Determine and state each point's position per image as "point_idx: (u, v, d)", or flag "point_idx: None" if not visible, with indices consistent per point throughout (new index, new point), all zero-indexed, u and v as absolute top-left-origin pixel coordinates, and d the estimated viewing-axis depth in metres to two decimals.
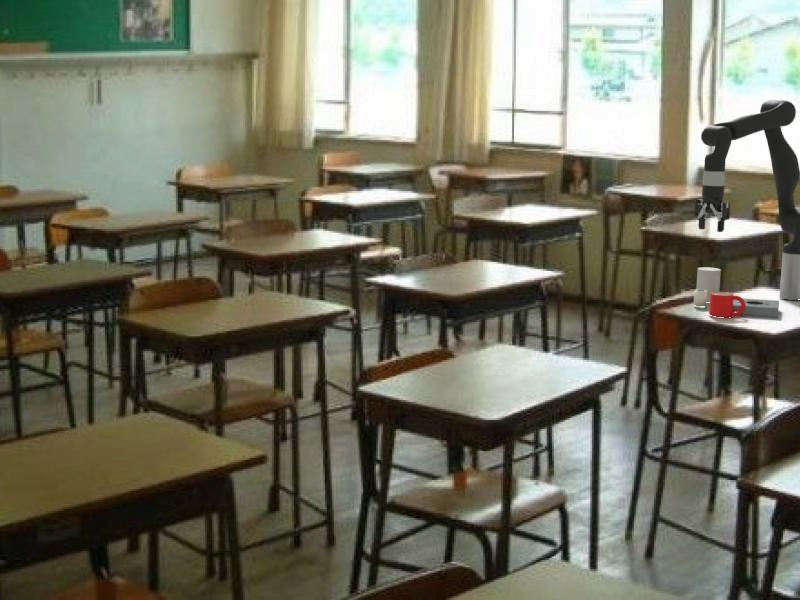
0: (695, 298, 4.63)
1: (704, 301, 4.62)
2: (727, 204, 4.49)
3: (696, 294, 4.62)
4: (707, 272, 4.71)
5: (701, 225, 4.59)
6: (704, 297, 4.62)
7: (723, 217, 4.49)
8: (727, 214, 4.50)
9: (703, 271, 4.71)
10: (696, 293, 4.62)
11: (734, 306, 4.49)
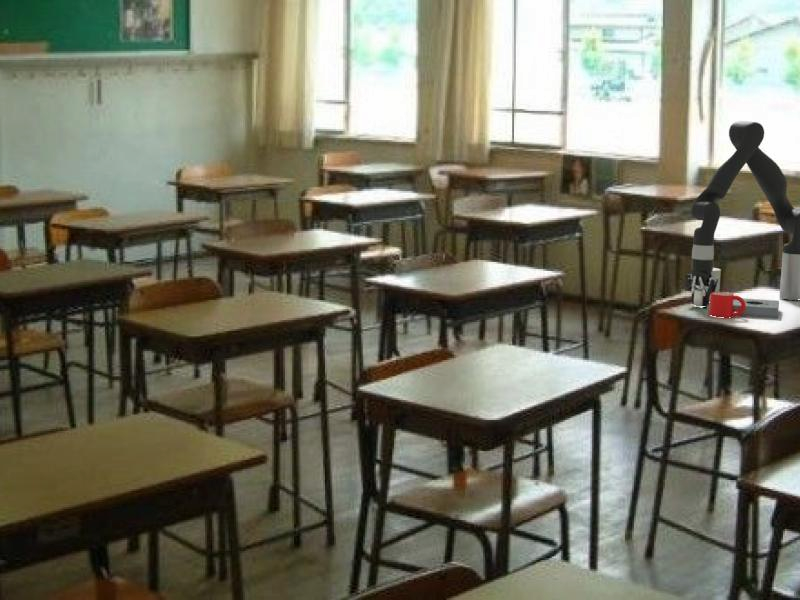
0: (695, 298, 4.63)
1: None
2: (715, 281, 4.57)
3: (696, 294, 4.62)
4: None
5: None
6: None
7: (708, 292, 4.59)
8: (713, 289, 4.60)
9: None
10: (696, 293, 4.62)
11: (734, 306, 4.49)
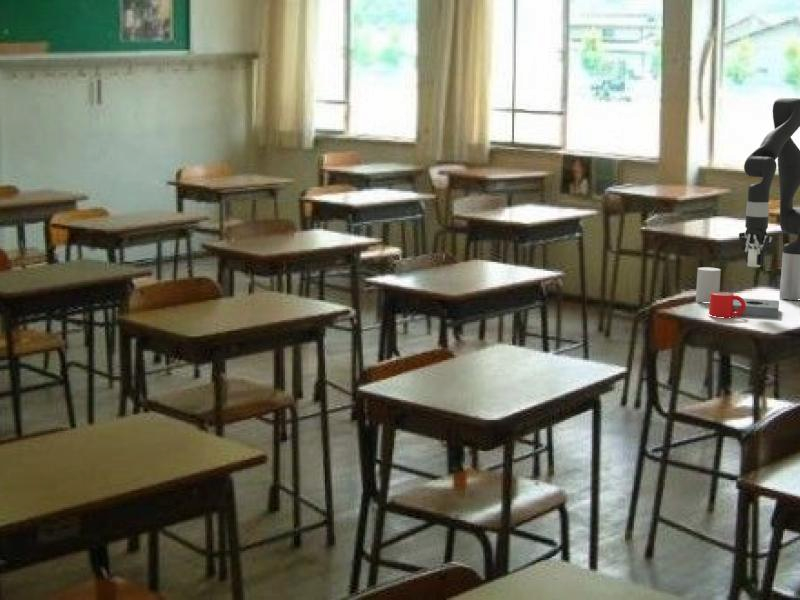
0: (749, 257, 4.52)
1: None
2: (770, 239, 4.46)
3: (750, 252, 4.51)
4: (707, 272, 4.71)
5: None
6: None
7: (763, 250, 4.48)
8: (768, 247, 4.48)
9: (703, 271, 4.71)
10: (750, 251, 4.51)
11: (734, 306, 4.49)
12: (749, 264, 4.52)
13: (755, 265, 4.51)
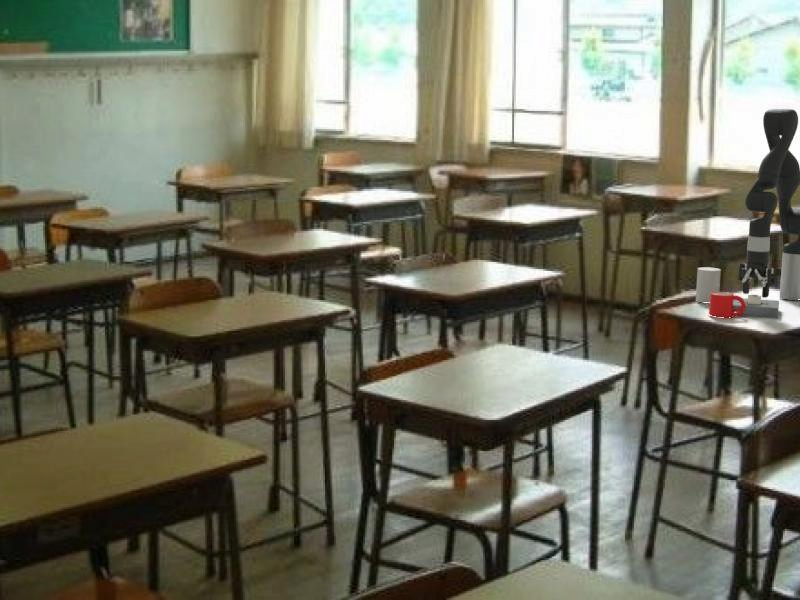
0: (749, 303, 4.54)
1: None
2: (772, 270, 4.47)
3: (750, 299, 4.54)
4: (707, 272, 4.71)
5: (745, 290, 4.57)
6: (758, 302, 4.53)
7: (768, 283, 4.47)
8: (772, 280, 4.48)
9: (703, 271, 4.71)
10: (750, 298, 4.53)
11: (734, 306, 4.49)
12: None
13: None
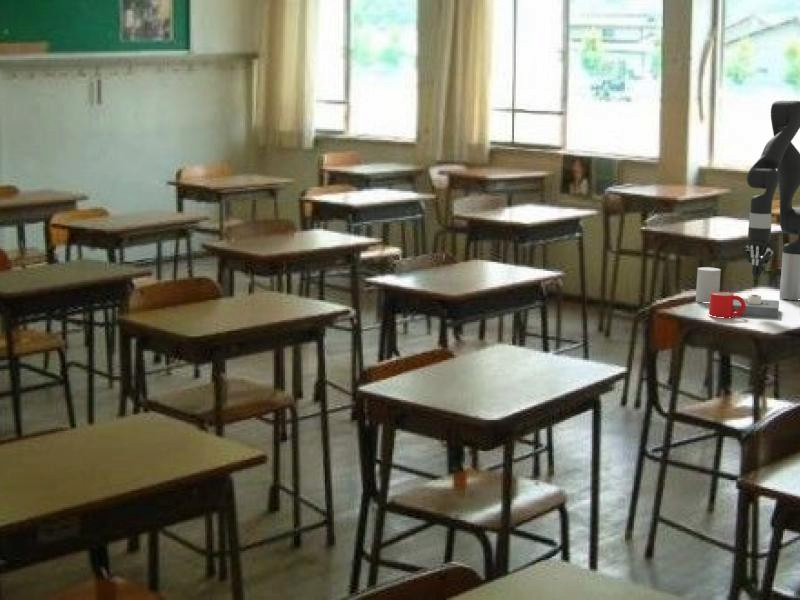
0: (749, 303, 4.54)
1: None
2: (771, 254, 4.47)
3: (750, 299, 4.54)
4: (707, 272, 4.71)
5: None
6: (758, 302, 4.53)
7: (761, 262, 4.49)
8: (766, 260, 4.50)
9: (703, 271, 4.71)
10: (750, 298, 4.53)
11: (734, 306, 4.49)
12: None
13: None
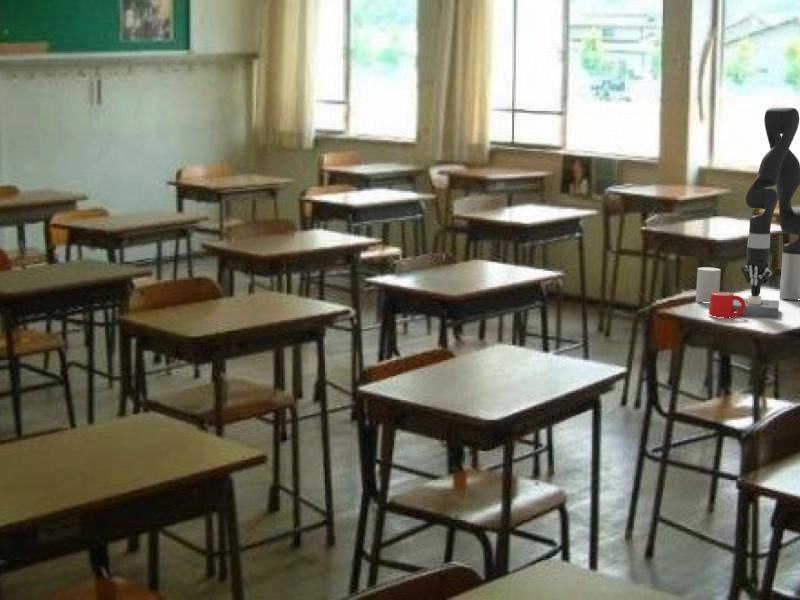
0: None
1: None
2: (770, 274, 4.48)
3: (750, 300, 4.54)
4: (707, 272, 4.71)
5: None
6: (758, 303, 4.53)
7: (759, 282, 4.51)
8: None
9: (703, 271, 4.71)
10: (750, 299, 4.53)
11: (734, 306, 4.49)
12: None
13: None
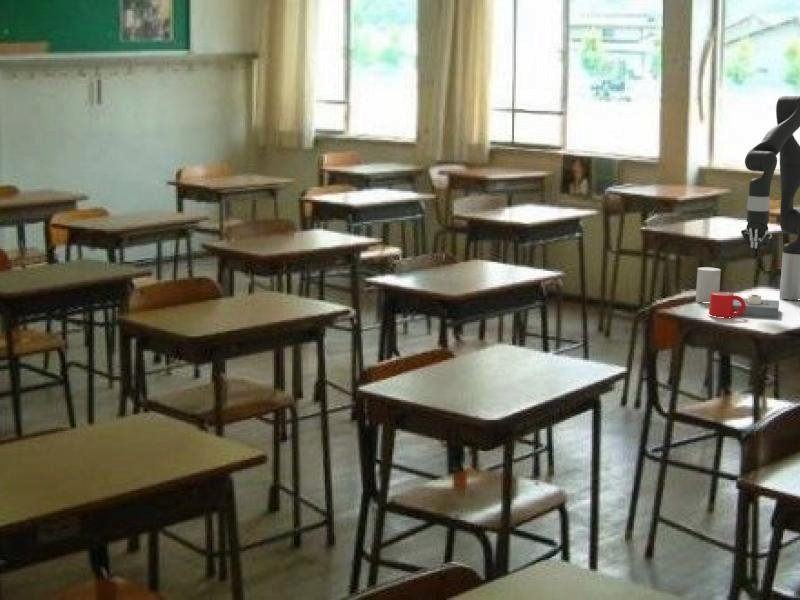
0: (749, 303, 4.54)
1: None
2: (770, 236, 4.49)
3: (750, 299, 4.54)
4: (707, 272, 4.71)
5: None
6: (758, 302, 4.53)
7: (760, 244, 4.52)
8: None
9: (703, 271, 4.71)
10: (750, 298, 4.53)
11: (734, 306, 4.49)
12: None
13: None
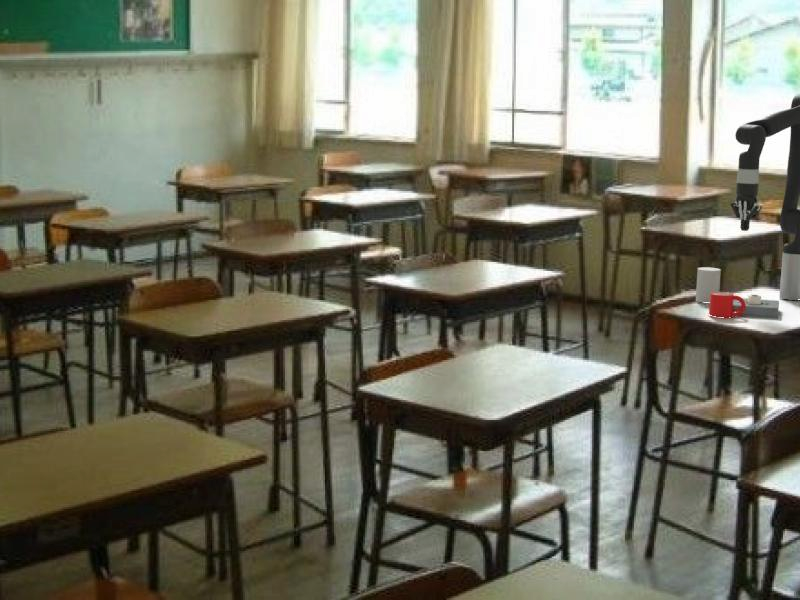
0: (749, 303, 4.54)
1: None
2: (759, 208, 4.59)
3: (750, 299, 4.54)
4: (707, 272, 4.71)
5: None
6: (758, 302, 4.53)
7: (748, 216, 4.62)
8: (754, 214, 4.62)
9: (703, 271, 4.71)
10: (750, 298, 4.53)
11: (734, 306, 4.49)
12: None
13: None
